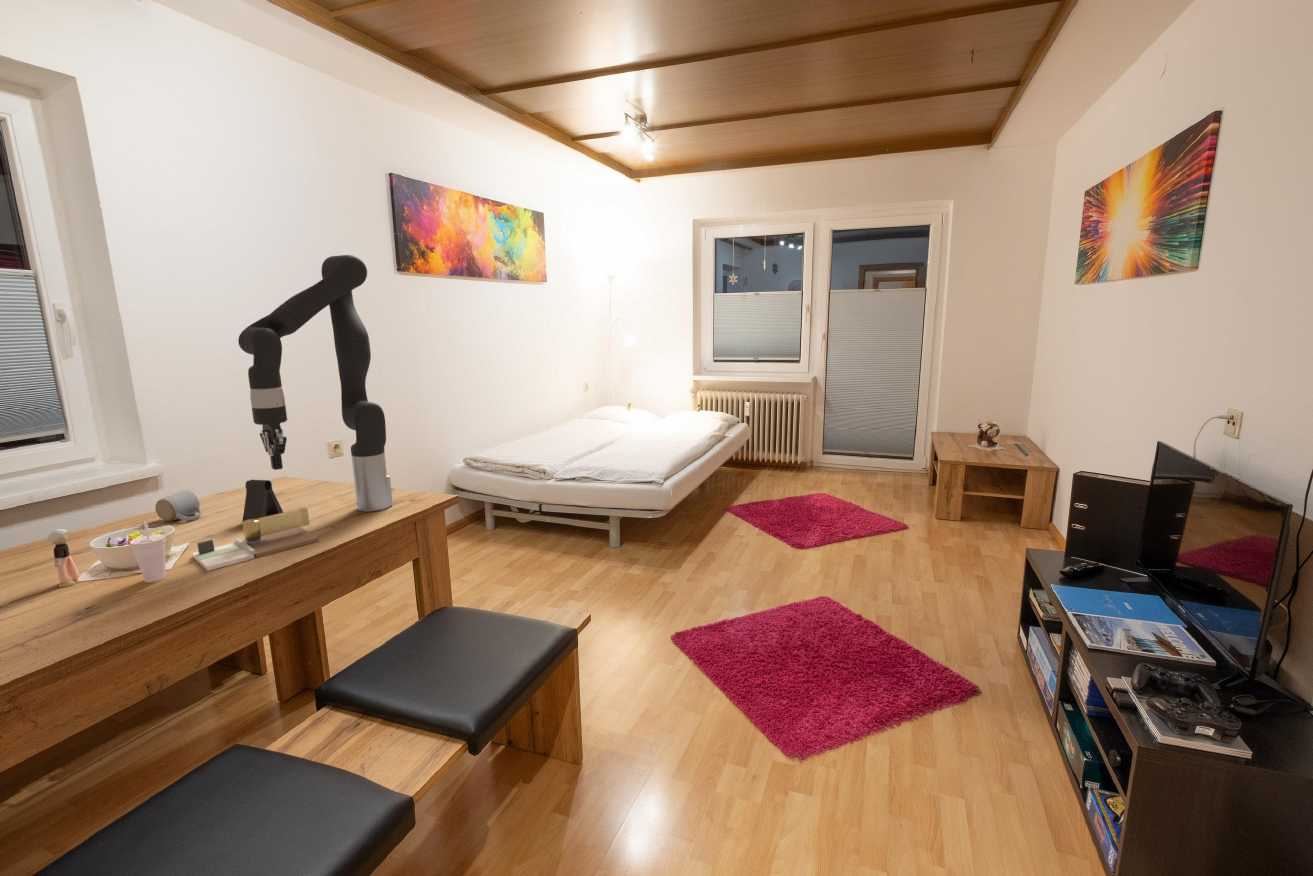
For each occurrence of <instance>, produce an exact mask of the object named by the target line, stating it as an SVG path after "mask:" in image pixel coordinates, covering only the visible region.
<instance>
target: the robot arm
mask: <svg viewBox="0 0 1313 876" xmlns="http://www.w3.org/2000/svg"><path fill="white" fill-rule="evenodd" d="M367 277H368V268H367V266H366V264H365V262H364V261H363V260H362V259H361V258H360V257H358V256H355V255H350V254H342V255H332V256H329V257H327V258H325V259H324V261H323V262H322V265H321V278H322V279H321V280H319V281H318V282H316V283H314V284H313V285H311V286H309V287H307V288H306V289H303V290H301V291H300V292H298V293H296V294H294V295H293V296H291V297H289V298H288V299H286V300H285V301H284V302H283V303H281V304H280V305H279V306H278V307H277V308H275V309H274V310H273V311H272V312H270V313H269V314H268V315H266V316H264V317H261V318H260V319H258V320H256V321H255V322H253V323H251V324H250V325H248V326H247V327H245V328H244V329H243V330H242V331H241V332H240V334H239V336H238V346H239V347H240V349H241V350H242V351H243V352H244V353H246V354H249V355H253V364H252V365H251V366H250V367H249V368H248V371H247V372H248V374H247V376H248V383H249V388H250V389H249V390H250V391H249V392H250V393H249V394H250V395H249V396H250V398H249V399H250V404H251V412H252V413H251V414H252V419H253V423H254V424H255V425H258V426H259V425H260V426H262V430H261V431H260V432H259V436H260V439H261V441H262V445H263V447H264V451H265V453H267V455H268V456H269V458H270V459H269V460H270V465H271V467H270V468H271V469H273V470H275V471H276V470H282V469H283V467H284V466H283V460H282V459H283V458H282V455H283V454H285V451H286V445H287V440H288V439H287V437H286V436H284V430H283V429H282V427H281V423H283V424H284V423H286V422H287V421H288V414H287V407H286V399H285V394H284V390H283V387H282V378H281V377H282V376H281V372H280V370H281V364H282V355H283V346H282V341H281V338H283V337H286V336H291V335H292V334H294V333H296V332H297V331H298V330H299V329H300V328H302V327H303V326H305V325H306V324H307V322H309V321H310V320H311V319H312V318H313V317H315V316H316V315H317V314H318V313H320V312H321V311H322V310H324V309H325V308H326V307H328V306H329V311H330V318H331V319H330V320H331V324H332V331H333V343H334V349H335V355H336V360H337V369H338V373H339V375H338V376H339V381H340V392H341V393H340V395H341V396H340V397H341V398H340V399H341V401H340V402H341V416H342V420H343V421H342V422H343V423H344V425H345V426H346V428H348V429H351V430H353V431H355V443H353V444H352V445H351V446H350V455H351V463H352V464H351V465H352V473H353V480H354V488H355V489H354V490H355V497H356V499H355V500H356V507H357V510H358V511H360V512H365V513H366V512H367V513H369V512H376V511H381V510H385V509H387V508H390V507H392V506H394V505H393V504H394V503H393V493H392V485H391V477H390V476H389V474H388V473H387V463H386V454H385V451H386V450H385V446H386V443H387V429H386V428H387V426H386V417H385V413H384V410H383V408H382V406H380V405H379V404H377V403H375V402H372V401H369V400H368V394H367V390H366V380H367V376H368V372H369V369H370V364H371V358H372V357H371V356H372V354H371V345H370V343H371V342H370V338H369V333H368V331H367V328H366V326H365V325H364V323H363V321H362V319H361V317H360V316H359V314H358V312H357V310H356V306H355V302H354V295H353V291H354V290H355V289H357V288H359V287H360V286H362V285H363V284H364V283H365V281H366V279H367Z"/></svg>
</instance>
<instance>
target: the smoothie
mask: <svg viewBox="0 0 1313 876" xmlns="http://www.w3.org/2000/svg"><path fill="white" fill-rule="evenodd" d="M143 524H144V531H145V535H143V536H140V537H137V538H134V539H132V540H130V541H129V547H130V548H131V549H132V551H133V554H134V556H135V559H136V561H137V565H138V567H139V569H140V573H141V575H142V578H143V580H144V583H156V582H159V581H163V580H164V579H165V578H166V577H167V575H166V571H167V570H166V541H167V538H166V534H162V533H160V534H159V533H157V534H150V530H149V526H148V521H147V520H144V521H143Z"/></svg>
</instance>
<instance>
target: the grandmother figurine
mask: <svg viewBox="0 0 1313 876" xmlns="http://www.w3.org/2000/svg"><path fill="white" fill-rule="evenodd" d="M46 540H47V541H51V542H52V543H53V544H54V548H53V556H54V567H55V568H57V572H58V580H59V584H58V587H59V588H63V587H70V586H75V584H76V582H77V581H78V579H79V578H80V577H81V574H80V571H79V569H78V567H77V565H76V563H75V562H74V560H73V558H72V556H71V554H70V551H69V550H70V549H69V546H68V544H67V542H68V540H69V537H68V531H67V529H64V528H57V529H53V530H52V531H51V532H50V533H49V534H48V536H47V538H46Z"/></svg>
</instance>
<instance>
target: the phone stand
mask: <svg viewBox="0 0 1313 876" xmlns="http://www.w3.org/2000/svg"><path fill="white" fill-rule="evenodd" d="M245 490H246V491H245V492H246V493H245V501H244V506H243V515H242V521H241V523H242V522H243V521H245V520H249V519H258V518H262V517H267V516H271V515H275V514H280V513H284V511H283V508H282V506H281V505H280V502H279V500H278V499H277V497H276V494H275V492H274V490H273V483H272V481H271V480H270V479H269V480H267V479H266V480H265V479H249V480H247V481H245Z"/></svg>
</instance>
